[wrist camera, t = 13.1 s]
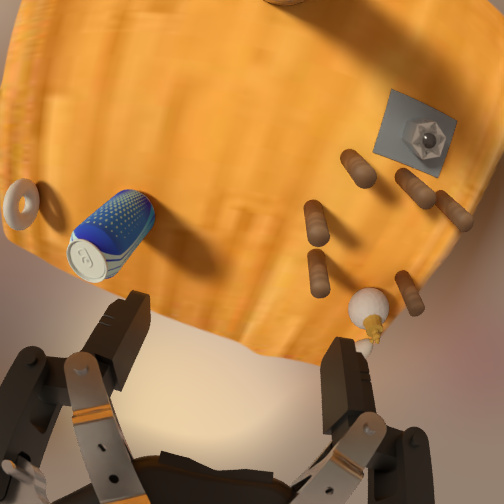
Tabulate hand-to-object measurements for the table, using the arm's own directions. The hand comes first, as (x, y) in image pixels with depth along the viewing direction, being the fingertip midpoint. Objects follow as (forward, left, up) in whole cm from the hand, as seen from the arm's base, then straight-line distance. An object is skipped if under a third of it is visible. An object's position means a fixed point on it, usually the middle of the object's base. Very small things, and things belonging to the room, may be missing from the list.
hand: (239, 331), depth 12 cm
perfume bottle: (+22, +23, -33) cm, 46 cm away
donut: (+15, -44, -33) cm, 57 cm away
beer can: (+14, -20, -33) cm, 41 cm away
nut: (-9, +20, -33) cm, 40 cm away
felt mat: (-9, +20, -33) cm, 40 cm away
